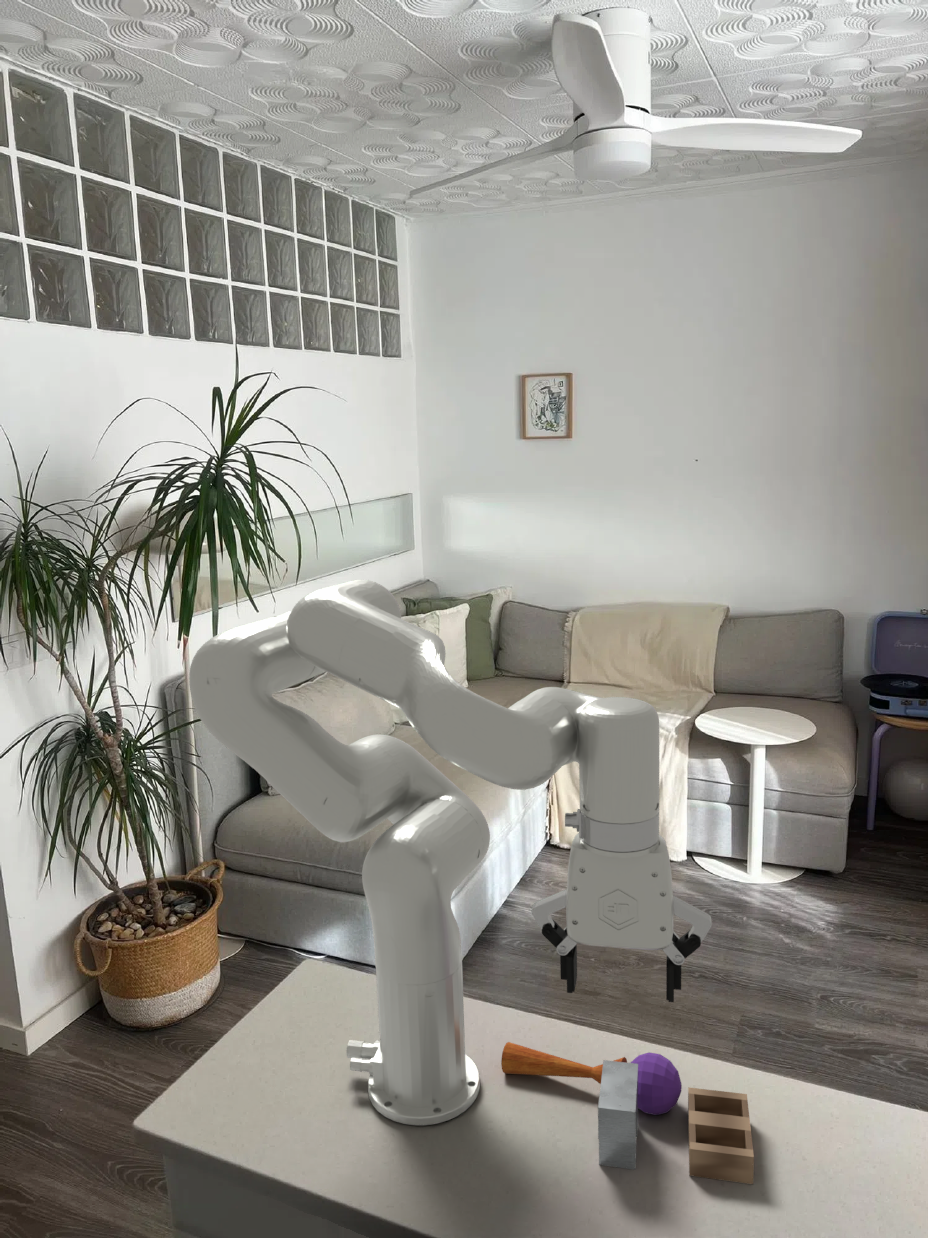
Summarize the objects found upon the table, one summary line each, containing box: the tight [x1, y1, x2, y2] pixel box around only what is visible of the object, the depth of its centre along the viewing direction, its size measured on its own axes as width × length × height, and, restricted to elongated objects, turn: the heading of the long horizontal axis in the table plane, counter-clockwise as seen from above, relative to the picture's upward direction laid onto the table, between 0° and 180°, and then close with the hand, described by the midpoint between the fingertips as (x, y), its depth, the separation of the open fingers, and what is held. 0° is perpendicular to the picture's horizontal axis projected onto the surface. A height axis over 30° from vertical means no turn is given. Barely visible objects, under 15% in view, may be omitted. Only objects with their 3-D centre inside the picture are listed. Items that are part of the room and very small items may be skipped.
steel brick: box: [597, 1059, 639, 1171], centre depth 95 cm, size 4×7×7 cm, turn 168°
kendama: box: [500, 1041, 683, 1116], centre depth 104 cm, size 6×6×20 cm
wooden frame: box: [687, 1086, 755, 1185], centre depth 95 cm, size 6×9×3 cm, turn 168°
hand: (620, 990), depth 92 cm, fingers open, 9 cm apart
